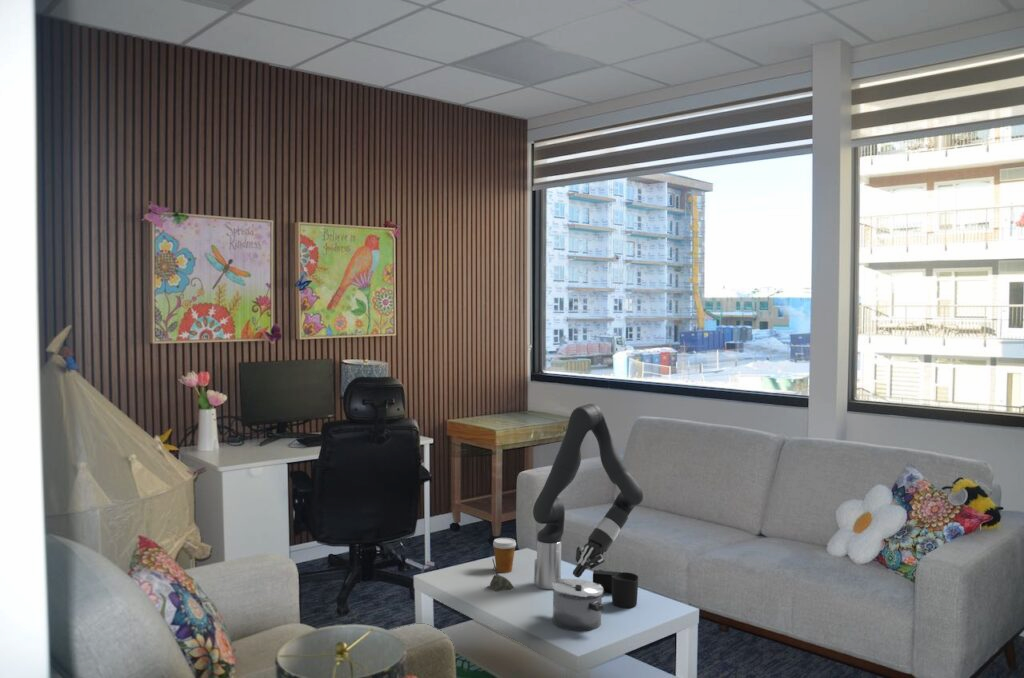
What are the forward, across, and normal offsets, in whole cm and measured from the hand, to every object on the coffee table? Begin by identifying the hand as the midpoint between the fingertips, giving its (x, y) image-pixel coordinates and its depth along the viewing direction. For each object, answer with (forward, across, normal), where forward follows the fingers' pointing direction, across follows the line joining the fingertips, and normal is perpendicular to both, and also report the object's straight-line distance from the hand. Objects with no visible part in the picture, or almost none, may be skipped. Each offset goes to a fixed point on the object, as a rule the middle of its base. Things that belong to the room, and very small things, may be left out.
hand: (575, 575), depth 261 cm
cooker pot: (+10, 0, +12) cm, 15 cm away
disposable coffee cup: (+3, -60, +20) cm, 63 cm away
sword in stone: (+13, -43, +10) cm, 46 cm away
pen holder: (-8, -5, +30) cm, 31 cm away
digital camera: (-11, -19, +33) cm, 40 cm away
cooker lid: (+3, 0, +4) cm, 5 cm away
